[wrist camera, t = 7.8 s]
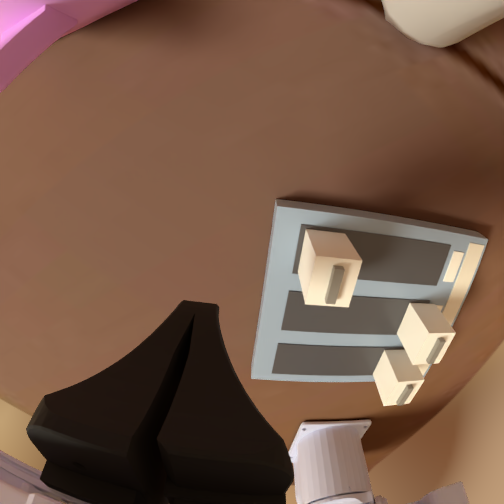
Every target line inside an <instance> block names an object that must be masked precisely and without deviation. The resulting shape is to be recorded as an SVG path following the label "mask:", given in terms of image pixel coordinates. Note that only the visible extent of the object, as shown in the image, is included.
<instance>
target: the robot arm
mask: <svg viewBox="0 0 504 504" xmlns="http://www.w3.org/2000/svg"><path fill="white" fill-rule="evenodd" d="M371 423H372V422H371V420H353V421H329V422H303V423H301V425H300V427H299V430H298V432H297V434H296V436H295V439H294V441H293V443H292V445H291V448H290V450H289V452H288V450H287V448H286V445H285V443H284V440H283V439H282V438H281V437H280V435H279V434H278V433H277V432H276V431H275V430H274V429H273V428H272V427H271V426H270V424H269V423H268V422H267V421H266V420H265V418H264V417H263V416H262V414H261V413H260V412H259V411H258V409H257V408H256V406H255V405H254V403H253V402H252V400H251V399H250V397H249V396H248V394H247V393H246V391H245V390H244V388H243V386H242V384H241V382H240V381H239V379H238V377H237V375H236V373H235V371H234V368H233V366H232V364H231V361H230V359H229V356H228V354H227V351H226V348H225V345H224V341H223V338H222V334H221V330H220V324H219V306H218V305H217V304H211V303H203V302H194V301H186V300H183V301H182V302H181V303H180V304H179V305H178V306H177V307H176V309H175V310H174V311H173V312H172V313H171V314H170V315H169V317H168V318H167V319H166V320H165V321H164V322H163V323H162V324H161V325H160V326H159V327H158V328H157V329H156V330H155V331H154V332H153V333H152V334H151V335H150V336H149V337H148V338H146V339H145V340H144V341H143V342H142V343H141V344H140V345H139V346H137V347H136V348H135V349H134V350H133V351H131V352H130V353H129V354H127V355H126V356H125V357H123V358H122V359H120V360H119V361H118V362H116V363H114V364H113V365H111V366H110V367H108V368H106V369H105V370H103V371H101V372H100V373H98V374H96V375H94V376H92V377H90V378H88V379H86V380H84V381H82V382H80V383H78V384H75V385H73V386H70V387H68V388H65V389H62V390H59V391H57V392H54V393H51V394H48V395H45V396H44V398H43V399H42V401H41V402H40V403H39V405H38V407H37V409H36V411H35V413H34V415H33V416H32V418H31V420H30V422H29V424H28V426H27V428H26V430H27V434H28V436H29V438H30V440H31V441H32V443H33V444H34V445H35V446H36V448H37V449H38V450H39V451H40V452H41V454H42V455H43V456H44V457H45V458H46V460H47V461H46V464H45V466H44V469H43V471H39V470H37V469H35V468H33V467H31V466H29V465H27V464H25V463H23V462H21V461H19V460H17V459H15V458H13V457H12V456H10V455H8V454H6V453H4V452H3V451H1V450H0V504H63V503H65V504H286V496H285V495H286V494H285V493H286V491H287V490H288V488H289V487H290V485H291V484H292V482H293V479H294V478H295V493H296V501H297V504H388V503H387V499H386V498H384V497H382V496H377V497H376V498H374V495H373V493H372V489H371V484H370V480H369V475H368V470H367V466H366V461H365V457H364V452H363V448H362V444H361V440H360V439H361V438H362V437H363V435H364V434H365V432H366V431H367V429H368V428H369V427H370V425H371ZM292 462H293V464H294V471H293V466H292ZM375 499H376V502H375ZM59 501H61V502H63V503H61V502H59ZM409 504H469V501H468V498H467V495H466V492H465V489H464V486H463V483H462V482H457V483H454V484H451V485H448V486H445V487H442V488H439V489H436V490H434V491H432V492H430V493H428V494H426V495H425V496H424V497H422V498H421V499H420V500H419V501H416V502H413V503H409Z"/></svg>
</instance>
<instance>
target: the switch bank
mask: <svg viewBox="0 0 504 504" xmlns="http://www.w3.org/2000/svg"><path fill="white" fill-rule="evenodd" d="M306 229H311V230H320V231H328V232H336V233H344V234H346V236H347V237H348V239H349V240H350V242H351V243H352V245H353V247H354V248H355V250H356V251H357V253H358V254H359V256H360V258H361V259H362V264H361V268H360V271H359V275H358V278H357V281H356V285H355V288H354V291H353V295H352V298H351V301H350V304H349V307H335V306H320V305H307V304H305V301H304V297H303V292H302V288H301V284H300V279H299V275H298V268H299V263H300V257H301V252H302V247H303V242H304V236H305V231H306ZM487 242H488V239H487V238H486V237H484V236H483V235H482V234H480V233H479V232H477V231H472V230H467V229H463V228H458V227H453V226H448V225H443V224H437V223H432V222H427V221H421V220H416V219H410V218H405V217H399V216H393V215H387V214H381V213H375V212H368V211H362V210H355V209H349V208H342V207H335V206H328V205H320V204H313V203H305V202H297V201H289V200H281V199H276V201H275V208H274V216H273V223H272V230H271V237H270V244H269V251H268V258H267V265H266V272H265V279H264V286H263V293H262V299H261V306H260V313H259V319H258V326H257V332H256V339H255V345H254V352H253V358H252V365H251V379H264V380H280V381H305V382H367V381H375V379H374V377H373V372H374V370H375V368H376V366H377V364H378V362H379V360H380V358H381V356H382V354H383V352H384V350H405V349H404V347H403V345H402V343H401V341H400V339H399V337H398V335H397V331H398V329H399V327H400V325H401V322H402V320H403V317H404V315H405V313H406V310H407V308H408V305H409V303H426V304H435V305H436V306H437V307H438V309H439V310H440V311H441V313H442V314H443V315H444V317H445V318H446V320H447V321H448V322H449V324H450V325H451V327H452V326H453V324H454V322H455V320H456V318H457V316H458V314H459V311H460V309H461V307H462V305H463V303H464V301H465V298H466V296H467V294H468V291H469V289H470V287H471V284H472V282H473V280H474V277H475V275H476V272H477V270H478V267H479V264H480V262H481V259H482V256H483V253H484V251H485V248H486V245H487ZM431 365H432V364H420V365H418V367H419V369H420V372H421V374H422V376H423V378H424V376H425V375H426V373H427V371H428V370H429V368H430V366H431Z"/></svg>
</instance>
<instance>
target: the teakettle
mask: <svg viewBox="0 0 504 504" xmlns="http://www.w3.org/2000/svg"><path fill="white" fill-rule="evenodd" d="M136 1H138V0H0V92H2V91H3V90H4V89H5V88H6V87H7V86H8V85H9V84H10V83H11V82H12V81H13V80H14V79H15V78H16V77H17V76H18V75H19V74H20V73H21V72H22V71H23V70H24V69H25V68H26V67H27V66H28V65H29V64H30V63H31V62H33V61H34V60H35V59H36V58H37V57H38V56H39V55H40V54H41V53H42V52H44V51H45V50H46V49H47V48H48V47H49V46H51V45H52V44H53V43H54V42H55V41H57V40H58V39H59V38H61V37H63V36H66V35H68V34H70V33H72V32H74V31H76V30H78V29H80V28H82V27H85V26H87V25H89V24H91V23H92V22H94V21H96V20H98V19H100V18H102V17H104V16H106V15H109V14H111V13H113V12H115V11H117V10H119V9H121V8H123V7H125V6H128V5H130V4H132V3H134V2H136Z"/></svg>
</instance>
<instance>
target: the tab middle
mask: <svg viewBox="0 0 504 504" xmlns="http://www.w3.org/2000/svg"><path fill="white" fill-rule="evenodd" d="M455 333H456V332H455V331H454V329H453V328H452V327H451V325H450V324H449V322H448V321H447V320H446V318H445V317H444V315H443V314H442V313H441V311H440V310H439V309H438V307H437V306H436V305H435V304H426V303H409V305H408V308H407V310H406V313H405V315H404V317H403V320H402V322H401V325H400V327H399V329H398V331H397V335H398V337H399V339H400V341H401V343H402V345H403V347H404V349H405V351H406V352H407V354H408V357H409V359H410V361H411V363H412V365H420V364H435V363H439V362H440V360H441V359H442V357H443V355H444V353H445V352H446V350H447V348H448V346H449V345H450V343H451V341H452V339H453V337H454V335H455Z"/></svg>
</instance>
